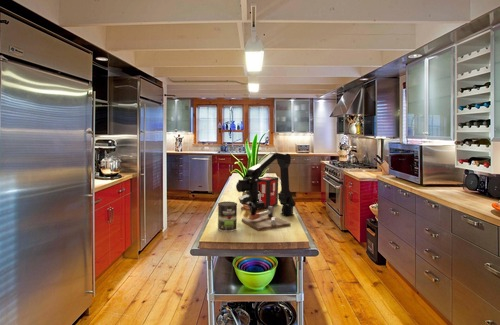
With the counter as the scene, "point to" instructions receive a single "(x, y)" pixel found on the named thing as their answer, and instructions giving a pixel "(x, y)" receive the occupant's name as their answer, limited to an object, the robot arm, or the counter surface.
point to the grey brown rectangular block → (273, 221)
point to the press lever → (262, 213)
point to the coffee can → (227, 216)
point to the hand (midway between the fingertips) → (252, 216)
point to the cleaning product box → (269, 191)
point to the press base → (265, 223)
